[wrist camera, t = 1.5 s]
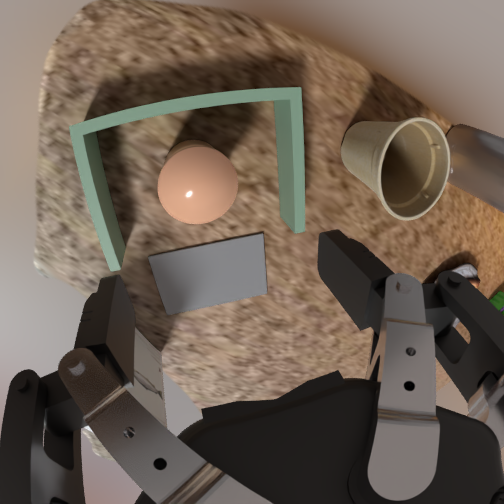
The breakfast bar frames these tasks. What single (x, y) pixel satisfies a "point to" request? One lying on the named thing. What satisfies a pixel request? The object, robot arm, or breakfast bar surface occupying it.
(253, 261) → the slate mat
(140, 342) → the supplement box
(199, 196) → the tan round knob
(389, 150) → the flower pot
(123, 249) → the green u-shaped frame
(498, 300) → the fruit basket
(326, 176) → the breakfast bar surface
